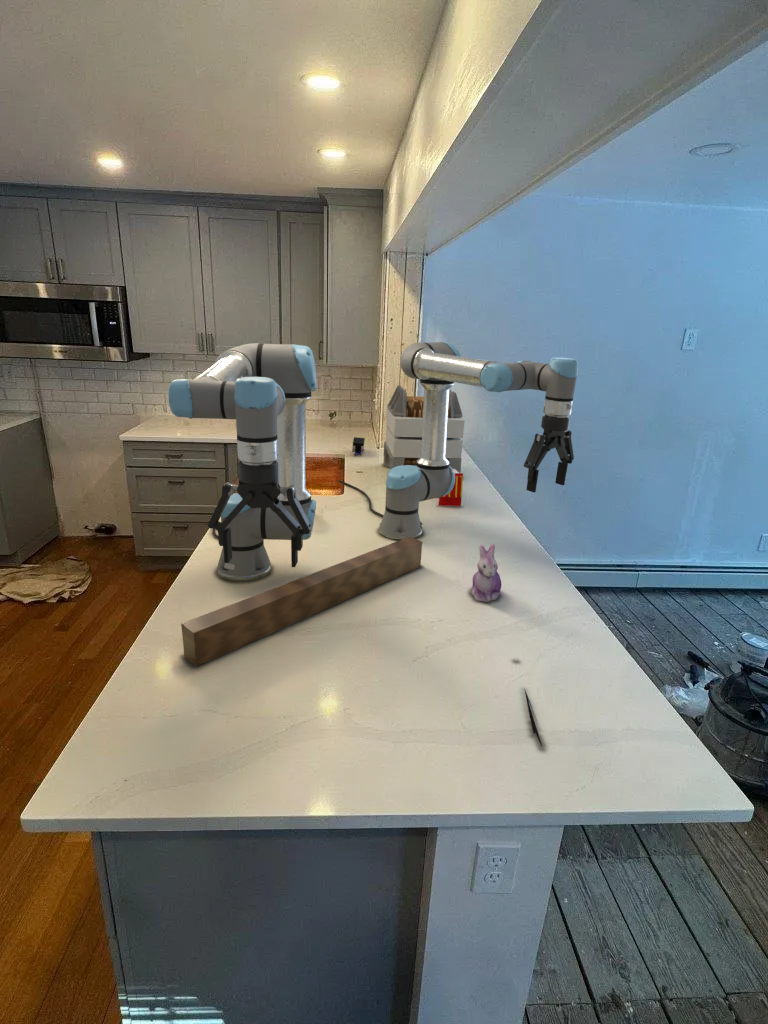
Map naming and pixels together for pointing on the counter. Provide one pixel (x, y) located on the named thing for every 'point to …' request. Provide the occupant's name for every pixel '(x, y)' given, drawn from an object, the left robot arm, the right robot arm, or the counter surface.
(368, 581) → the bar
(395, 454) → the transformer
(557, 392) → the right robot arm
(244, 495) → the left robot arm
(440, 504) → the toy
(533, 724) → the feather
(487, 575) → the figurine
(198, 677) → the counter surface
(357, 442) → the figurine character
